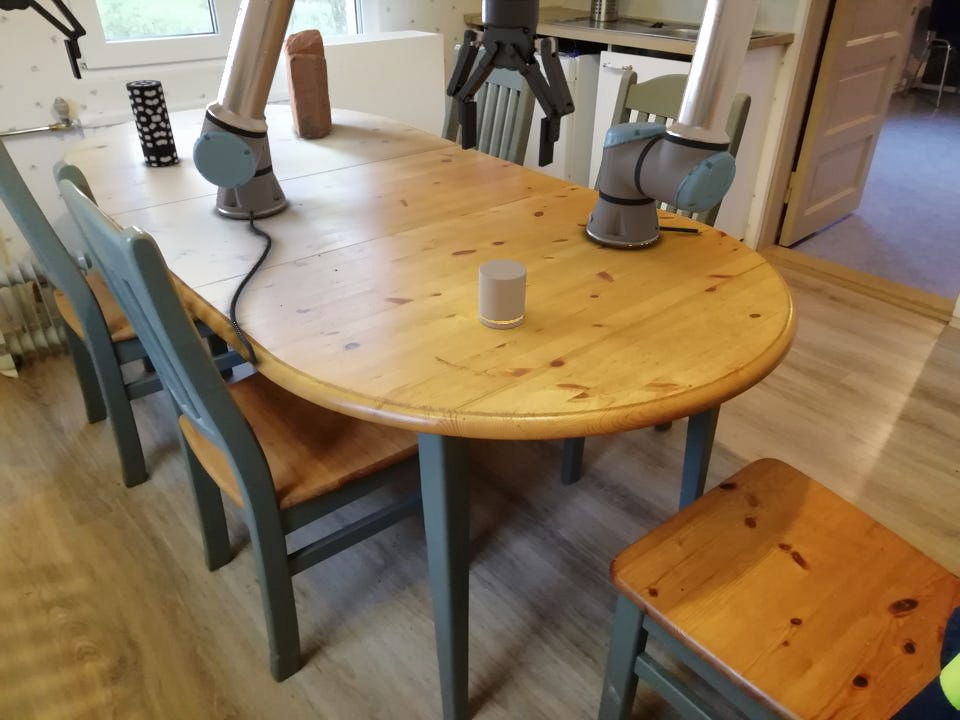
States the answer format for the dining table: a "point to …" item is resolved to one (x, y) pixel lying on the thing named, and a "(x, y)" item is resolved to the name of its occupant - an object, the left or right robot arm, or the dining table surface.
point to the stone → (308, 83)
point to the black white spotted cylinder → (152, 122)
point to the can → (502, 292)
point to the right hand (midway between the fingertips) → (506, 156)
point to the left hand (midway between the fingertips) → (38, 82)
